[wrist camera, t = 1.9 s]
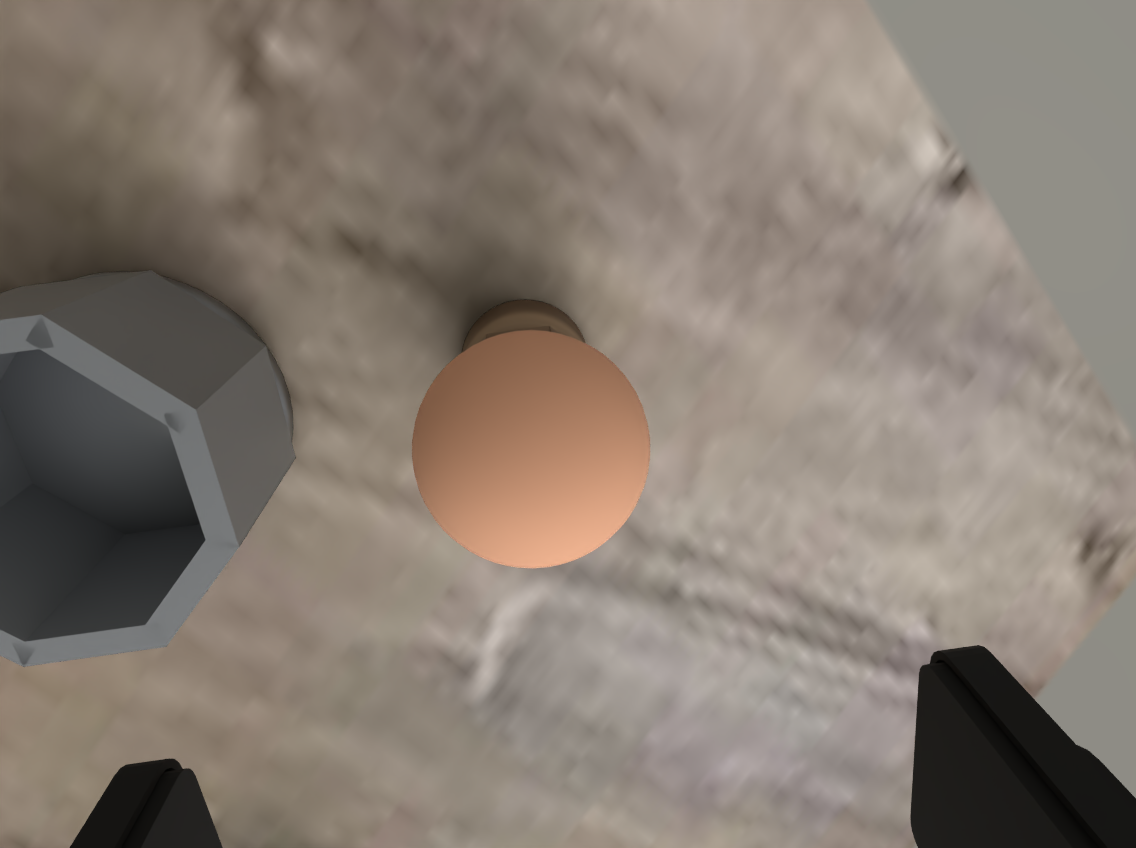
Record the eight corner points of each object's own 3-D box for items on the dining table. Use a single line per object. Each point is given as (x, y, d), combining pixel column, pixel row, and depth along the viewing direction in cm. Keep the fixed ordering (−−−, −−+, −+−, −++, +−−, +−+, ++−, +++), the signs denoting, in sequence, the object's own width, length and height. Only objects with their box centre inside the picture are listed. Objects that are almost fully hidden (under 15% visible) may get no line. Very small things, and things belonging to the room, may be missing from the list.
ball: (406, 321, 21) (370, 392, 16) (621, 293, 21) (662, 352, 16) (443, 512, 23) (424, 634, 18) (638, 485, 24) (679, 598, 18)
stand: (451, 308, 26) (439, 348, 21) (581, 292, 26) (597, 328, 21) (472, 428, 27) (465, 491, 23) (594, 412, 28) (611, 471, 23)
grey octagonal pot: (-51, 291, 24) (-253, 351, 18) (252, 253, 25) (161, 298, 18) (57, 551, 28) (-79, 681, 21) (321, 515, 28) (266, 632, 22)
